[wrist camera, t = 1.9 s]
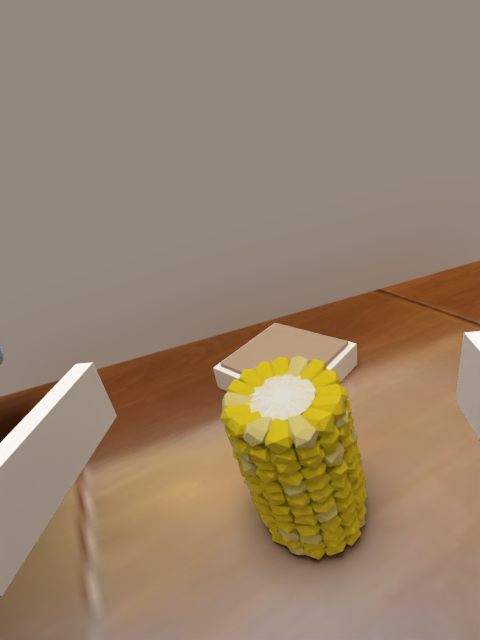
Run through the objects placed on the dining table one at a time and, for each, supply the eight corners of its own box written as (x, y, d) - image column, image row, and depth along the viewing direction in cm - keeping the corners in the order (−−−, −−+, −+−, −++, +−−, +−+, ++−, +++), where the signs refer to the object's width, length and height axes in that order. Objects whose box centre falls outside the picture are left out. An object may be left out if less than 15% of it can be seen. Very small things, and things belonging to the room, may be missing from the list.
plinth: (218, 387, 49) (212, 364, 47) (277, 340, 58) (274, 319, 56) (300, 426, 40) (296, 399, 38) (357, 364, 48) (356, 339, 46)
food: (379, 570, 27) (254, 567, 30) (354, 435, 36) (259, 440, 38) (380, 483, 18) (196, 489, 20) (346, 329, 27) (221, 345, 29)
